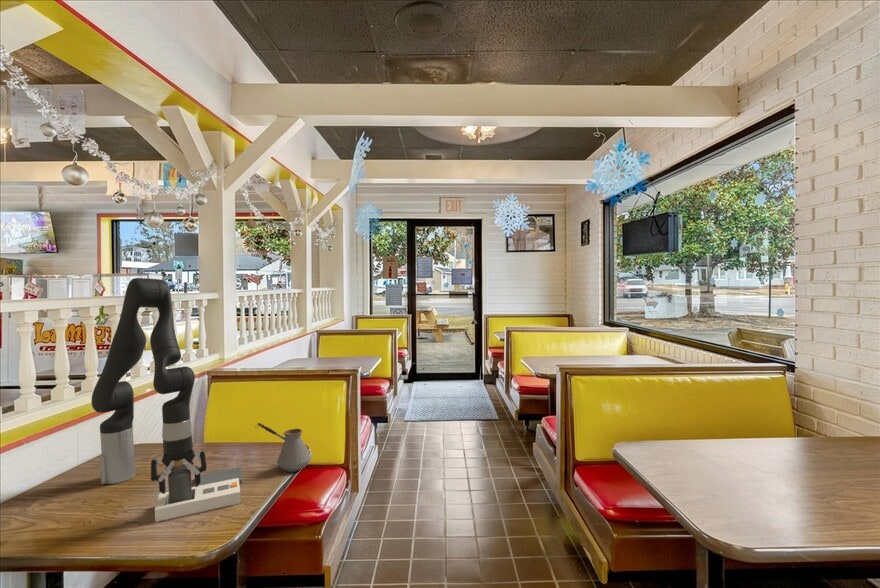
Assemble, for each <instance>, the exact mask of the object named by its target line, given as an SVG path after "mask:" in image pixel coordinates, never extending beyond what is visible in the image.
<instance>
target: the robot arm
mask: <svg viewBox="0 0 880 588" xmlns="http://www.w3.org/2000/svg"><path fill="white" fill-rule="evenodd" d="M124 293H125V294H124V298H123V299H124V300H123V303H122V309H121V313H120V318H119V321H118V323H117V326H116V330H115V333H114V335H113V338H112V341H111V345H110V347H109V351H108V354H107V357H106V360H105V363H104V366H103V369H102V372H101V373H100V376H99V378H98V379H97V381H96V384H95V386H94V388H93V391H92V395H91V407H92V409H93V410H94V412H96V413H99V414H102V413H103V414H104V413H110V412H113V411H114V412H113V413H112V415H110V417H108V418H107V419H105V420H104V421H102V422H101V423H100V424H99V433H100V434H99V436H100V438H99V439H100V452H101V453H100V456H99V464H100V465H99V467H100V482H101V485H113V484H119V483H123V482H126V481H129V480H131V479H133V478H134V477H135V476H136V464H135V463H136V461H135V458H136V457H135V445H134V443H135V442H134V429H133V428H134V427H133V426H134V425H133V421H134V417H135V412H134V411H135V409H134V408H135V397H134V389H133V386H132V384H131V383H130V382H129V381H124V380H123V381H121V379H123V377H124V376H125V375H126V374H127V373H128V372H129V371H131V370H132V369H133V368H134V367H135V366H136V365H137V364H138V362H139V361H140V360H141V359H142V356H143V353H144V350H145V347H146V344H147V337H146V335H145V332H144V330H143V329H142V326H141V325H140V323H139V320H138V312H139V309H140V308H152V309H153V308H155V309H157V311H158V319H157V321H156V323H155V326H154V327H153V329H152V331H151V333H150V336H149V337H150V338H149V344H150V348H151V352H152V356H153V360H154V361H153V362H154V374H153V382H152V385H153V388H154V389H153V390H155V392H156V393H158V394H159V395H168V394H174V393H178V394H177V395H176V396H175V397H174V398H172V399H169V400H167V401H165V402H163V404H162V405H161V414H162V415H161V417H162V428H161V429H162V434H161V438H162V447H163V449H162V450H163V457H159V458H157V457H153V458H152V459H151V462H150V481H151V482H154V481H156V482H158V490H159V491H158V492H160V493H162V494H164V493H165V492H167V490H166V477H167V475H169V474H170V472H171V471H170V470H171V468H172V467H173V466H174V463H173V462H174V461H176V460H180V459H181V460H183V462H182V463H183V464H184V465H185V466H186V467H187V469H189V470H190V472H193V473H194V486H195V487H198V485H199V484H200V482H201V479H200V475H201V474H202V473H203V472H206V471H207V467H208V466H207V459H206V450H205V449H204V448H202V449H200V451H194V448H193V447H194V444H193V433H192V432H193V430H192V421H191V412H190V410H191V409H190V404H191V398H192V394H193V389H194V386H195V385H194V384H195V380H196V376H195V373H194V371H193V369H192V368H191V367H189V366H179V367H173V368H167V367H170V366H173V365H175V364H177V363H178V362H179V361H181V359H182V353H181V349H180V346H179V342H178V340H177V336H176V329H175V324H174V312H173V311H174V310H173V304H172V294H171V289H170V286H169V284H168V282H167V281H166V280H164V279H159V278H149V277H148V278H145V277H136V278H132V279H131V280H130V281H129V282H128V284H127V287H126V290H125V292H124ZM195 457H196V458H197V459H198V460H200V465H201V466H197V464H196V462H194V461H193V460H194V459H195ZM170 461H171V462H170ZM161 463H162V464H163V465H165V467H164V469H163V470H162V472H161V473H160V474H158V467H159V466H160V464H161Z"/></svg>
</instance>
